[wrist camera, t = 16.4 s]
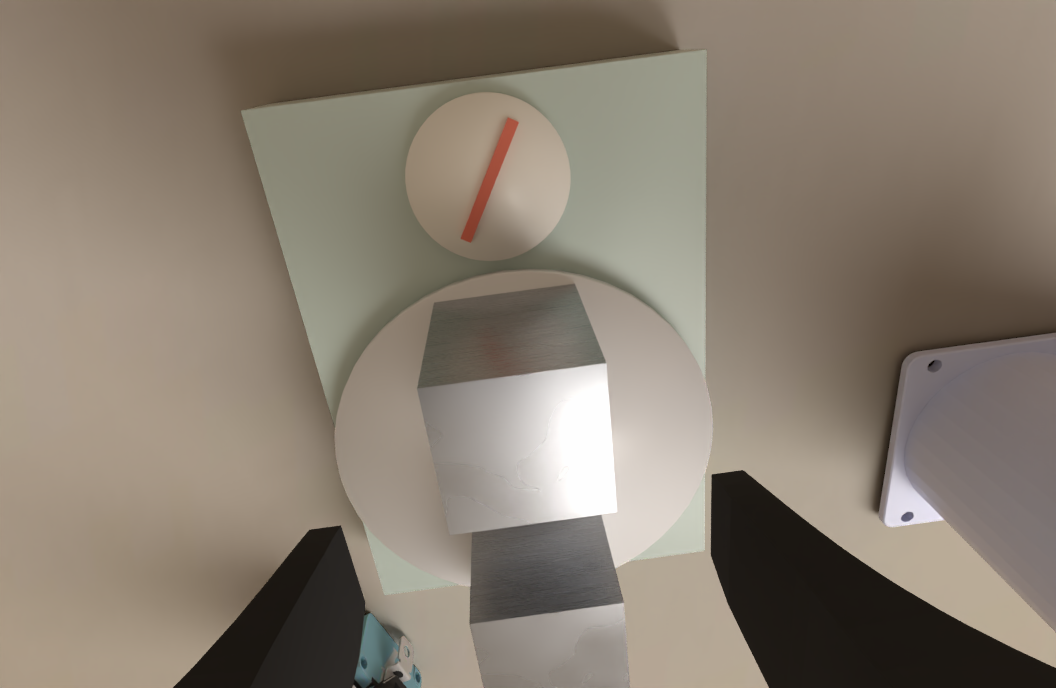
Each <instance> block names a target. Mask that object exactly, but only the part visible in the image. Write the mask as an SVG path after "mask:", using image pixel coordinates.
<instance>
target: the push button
mask: <svg viewBox="0 0 1056 688" xmlns="http://www.w3.org/2000/svg"><path fill="white" fill-rule="evenodd" d="M404 647H406V648H407V650H408V658H407V657H406V655H405V653H404ZM413 656H414V650H413V647H412V645H411V644H410V643H409V641H408V640H407V639H406V638H405V636H402V637H400V642H399V647H398V645H397V644H396V643H395V642H394V641H393V639H392V638H391V637H390V636H389V634H388V633H387V632H386V631H385V629H384V628H383V627H382V626H381V624H380V623H379V622H378V621H377V620H376V618H375V617H374V616H373V615H372V614H371V613H369V614H367V615H364V621H363V631H362V640H361V648H360V656H359V660H358V665H357V669H356V674H355V678H354V683H353V687H352V688H421V675H420V672H419V670H418V669H417V668H416V667H415V666H414V665H413Z"/></svg>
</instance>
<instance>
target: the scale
mask: <svg viewBox="0 0 1056 688" xmlns="http://www.w3.org/2000/svg"><path fill="white" fill-rule="evenodd" d="M706 99H707V49H704V50H675V51H667V52H660V53H652V54H645V55H637V56H629V57H622V58H614V59H606V60H599V61H591V62H584V63H576V64H568V65H561V66H553V67H546V68H538V69H530V70H523V71H515V72H507V73H500V74H492V75H485V76H477V77H469V78H462V79H454V80H446V81H439V82H431V83H424V84H416V85H408V86H401V87H393V88H386V89H378V90H370V91H363V92H355V93H347V94H340V95H332V96H325V97H317V98H309V99H302V100H294V101H287V102H279V103H271V104H266V105H262V106H258V107H254V108H250V109H245V110H241V114H242V117H243V121H244V124H245V127H246V131H247V134H248V137H249V141H250V144H251V148H252V151H253V154H254V158H255V161H256V164H257V168H258V171H259V175H260V178H261V181H262V185H263V188H264V191H265V195H266V198H267V201H268V205H269V208H270V212H271V215H272V218H273V222H274V225H275V228H276V232H277V235H278V238H279V242H280V245H281V249H282V252H283V255H284V259H285V262H286V265H287V269H288V272H289V275H290V279H291V282H292V286H293V289H294V292H295V296H296V299H297V302H298V306H299V309H300V313H301V316H302V319H303V323H304V326H305V329H306V333H307V336H308V339H309V343H310V346H311V350H312V353H313V356H314V360H315V363H316V366H317V370H318V373H319V376H320V380H321V383H322V387H323V390H324V393H325V397H326V400H327V403H328V407H329V410H330V414H331V417H332V420H333V424H334V427H335V436H334V438H335V454H336V461H337V466H338V470H339V475H340V479H341V481H342V484H343V487H344V489H345V492H346V494H347V497H348V499H349V500H350V502H351V504H352V506H353V507H354V509H355V511H356V513H357V514H358V516H359V517H360V519H361V520H362V521H363V525H364V528H365V531H366V535H367V538H368V541H369V545H370V548H371V552H372V555H373V558H374V562H375V565H376V568H377V572H378V575H379V578H380V582H381V585H382V589H383V592H384V595H390V594H397V593H404V592H411V591H419V590H426V589H433V588H440V587H448V586H455V585H464V586H468V587H470V586H471V545H472V532H471V533H464V534H456V535H449V530H448V526H447V521H446V517H445V512H444V508H443V503H442V499H441V494H440V490H439V485H438V481H437V476H436V472H435V467H434V463H433V458H432V454H431V450H430V445H429V441H428V436H427V432H426V427H425V423H424V418H423V414H422V409H421V405H420V400H419V396H418V391H417V386H418V381H419V376H420V371H421V366H422V361H423V356H424V351H425V345H426V340H427V335H428V330H429V325H430V320H431V315H432V310H433V305H434V302H441V301H448V300H456V299H463V298H471V297H478V296H486V295H493V294H500V293H508V292H515V291H523V290H530V289H538V288H545V287H553V286H560V285H567V284H575V285H576V288H577V290H578V293H579V295H580V298H581V300H582V303H583V305H584V308H585V310H586V313H587V315H588V318H589V320H590V323H591V325H592V328H593V330H594V333H595V336H596V338H597V341H598V343H599V346H600V348H601V351H602V353H603V356H604V358H605V361H606V364H607V378H608V392H609V405H610V419H611V433H612V447H613V461H614V475H615V488H616V502H617V512H616V513H609V514H602V519H603V523H604V527H605V531H606V535H607V539H608V543H609V547H610V551H611V554H612V558H613V562H614V566H615V568H617V567H619V566H621V565H623V564H625V563H627V562H628V561H635V560H642V559H650V558H657V557H664V556H671V555H679V554H686V553H693V552H700V551H705V470H706V468H707V464H708V460H709V456H710V452H711V447H712V436H713V416H712V405H711V401H710V396H709V392H708V387H707V384H706V382H705V338H706Z"/></svg>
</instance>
